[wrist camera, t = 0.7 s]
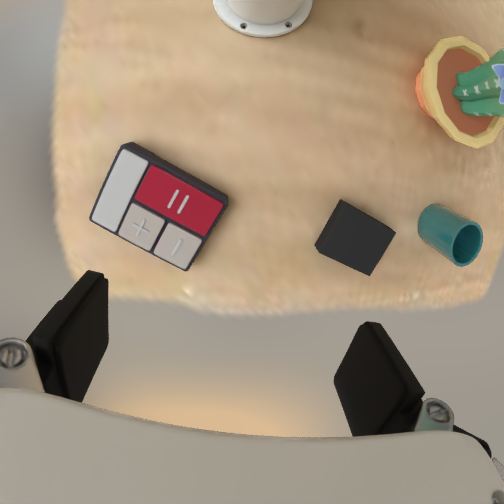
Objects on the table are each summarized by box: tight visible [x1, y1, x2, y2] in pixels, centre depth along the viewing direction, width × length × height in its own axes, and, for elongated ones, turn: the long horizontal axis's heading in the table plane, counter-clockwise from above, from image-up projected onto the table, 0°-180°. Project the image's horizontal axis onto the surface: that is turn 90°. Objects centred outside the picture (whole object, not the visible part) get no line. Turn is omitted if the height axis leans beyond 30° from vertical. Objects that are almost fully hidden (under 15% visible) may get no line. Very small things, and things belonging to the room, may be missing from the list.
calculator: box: [89, 142, 228, 271], centre depth 38 cm, size 11×4×15 cm
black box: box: [315, 199, 396, 276], centre depth 42 cm, size 7×9×3 cm
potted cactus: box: [415, 36, 504, 149], centre depth 23 cm, size 15×15×25 cm
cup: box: [418, 204, 483, 267], centre depth 39 cm, size 6×6×9 cm
